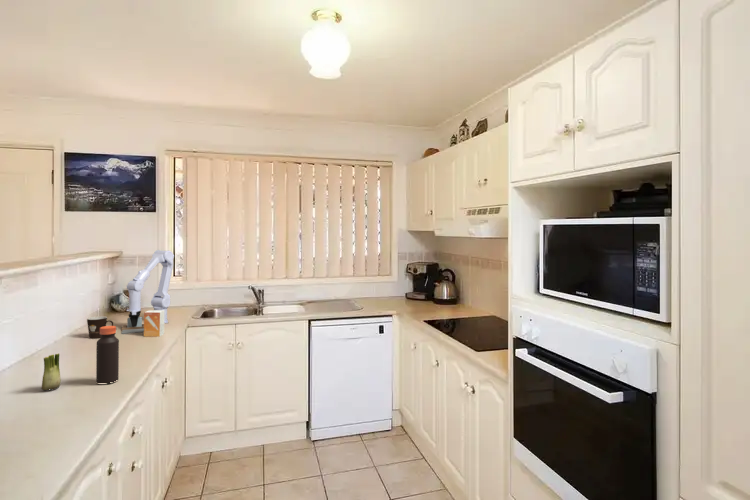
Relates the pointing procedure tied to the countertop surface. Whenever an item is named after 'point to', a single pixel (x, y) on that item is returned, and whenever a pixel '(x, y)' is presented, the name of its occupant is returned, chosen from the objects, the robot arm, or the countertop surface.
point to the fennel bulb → (51, 372)
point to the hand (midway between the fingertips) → (134, 325)
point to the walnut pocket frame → (132, 327)
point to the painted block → (139, 323)
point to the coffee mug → (96, 326)
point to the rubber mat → (132, 331)
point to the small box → (153, 323)
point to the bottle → (107, 356)
